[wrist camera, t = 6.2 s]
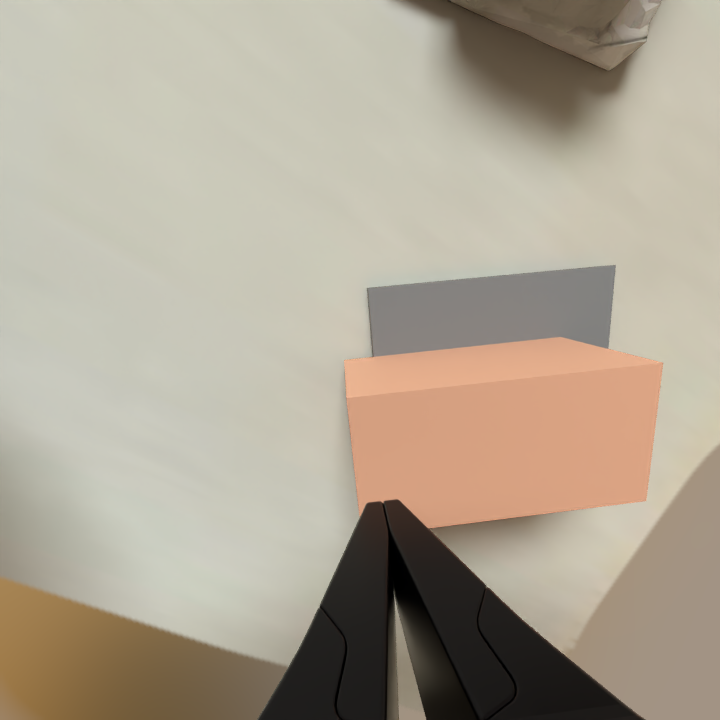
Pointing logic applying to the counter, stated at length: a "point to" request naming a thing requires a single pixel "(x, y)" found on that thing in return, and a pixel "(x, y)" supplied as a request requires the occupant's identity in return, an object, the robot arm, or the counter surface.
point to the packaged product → (576, 24)
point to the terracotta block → (502, 429)
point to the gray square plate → (492, 310)
